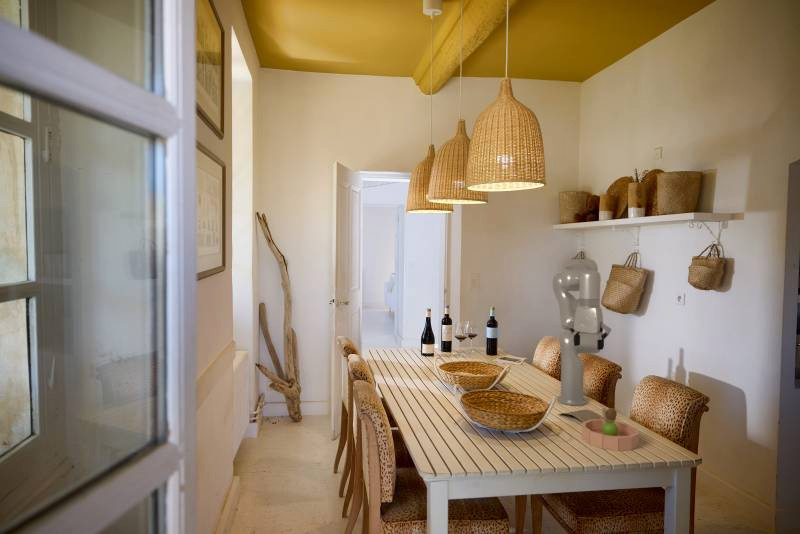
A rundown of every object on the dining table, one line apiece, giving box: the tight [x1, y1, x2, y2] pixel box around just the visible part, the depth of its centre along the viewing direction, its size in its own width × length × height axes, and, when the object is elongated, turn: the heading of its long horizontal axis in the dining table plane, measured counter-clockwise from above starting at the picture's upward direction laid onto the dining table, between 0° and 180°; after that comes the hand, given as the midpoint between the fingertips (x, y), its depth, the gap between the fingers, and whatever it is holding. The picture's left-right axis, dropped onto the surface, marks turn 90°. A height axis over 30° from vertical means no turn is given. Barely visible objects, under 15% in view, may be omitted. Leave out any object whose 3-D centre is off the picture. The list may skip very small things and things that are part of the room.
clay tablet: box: [558, 408, 604, 423], centre depth 201 cm, size 16×11×3 cm
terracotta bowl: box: [581, 419, 640, 452], centre depth 177 cm, size 18×18×4 cm
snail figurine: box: [601, 403, 618, 436], centre depth 178 cm, size 5×6×12 cm
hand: (588, 347), depth 193 cm, fingers open, 9 cm apart
